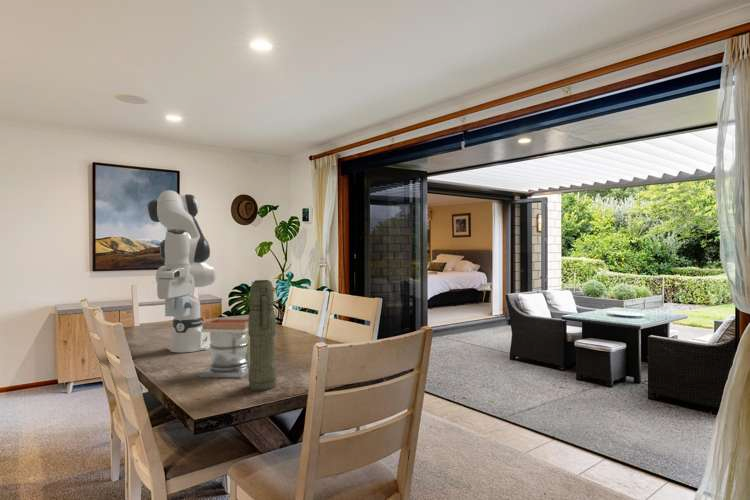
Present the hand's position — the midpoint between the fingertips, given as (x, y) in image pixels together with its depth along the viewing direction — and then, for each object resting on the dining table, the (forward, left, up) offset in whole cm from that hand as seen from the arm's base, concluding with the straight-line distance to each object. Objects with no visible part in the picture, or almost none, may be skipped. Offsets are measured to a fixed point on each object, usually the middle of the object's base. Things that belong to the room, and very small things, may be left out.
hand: (177, 308), depth 169 cm
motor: (+1, +21, -23) cm, 31 cm away
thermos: (+18, +40, -23) cm, 50 cm away
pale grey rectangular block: (0, +1, -3) cm, 3 cm away
